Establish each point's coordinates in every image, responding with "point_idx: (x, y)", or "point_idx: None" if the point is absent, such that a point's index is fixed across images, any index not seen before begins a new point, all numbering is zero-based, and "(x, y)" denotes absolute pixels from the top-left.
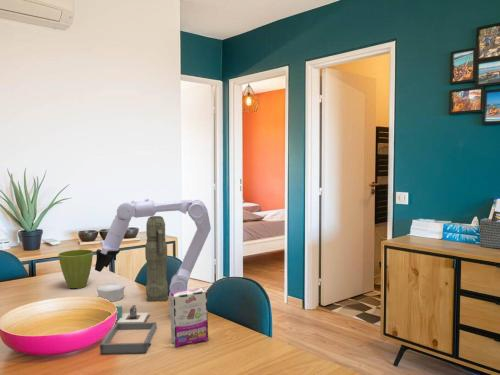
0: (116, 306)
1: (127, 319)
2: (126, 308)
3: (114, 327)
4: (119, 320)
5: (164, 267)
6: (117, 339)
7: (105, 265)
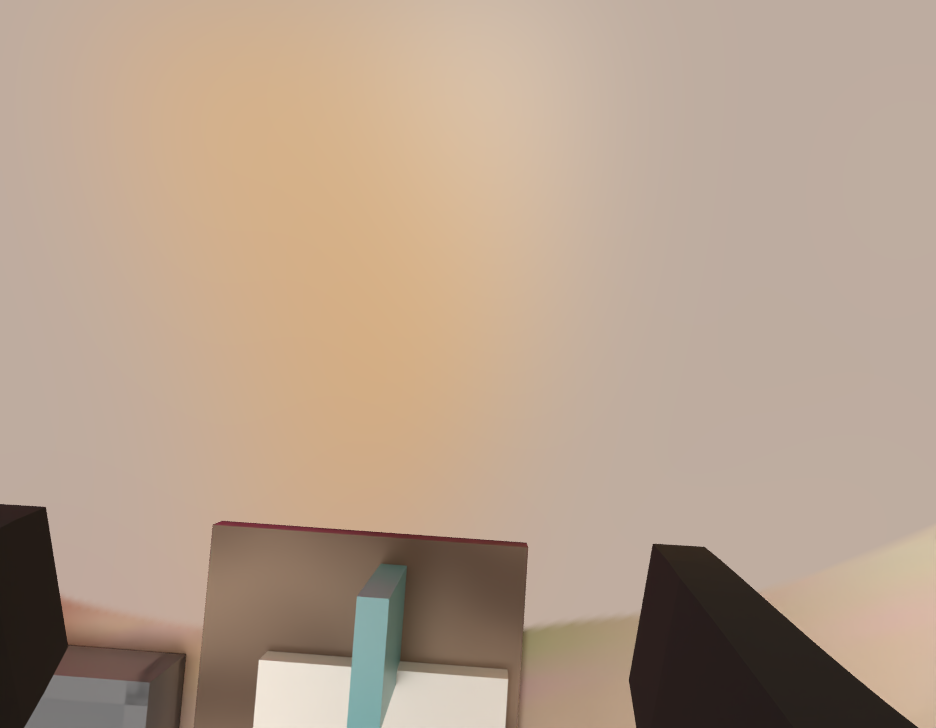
0: (372, 668)
1: None
2: None
3: None
4: (303, 674)
5: None
6: None
7: (643, 668)
